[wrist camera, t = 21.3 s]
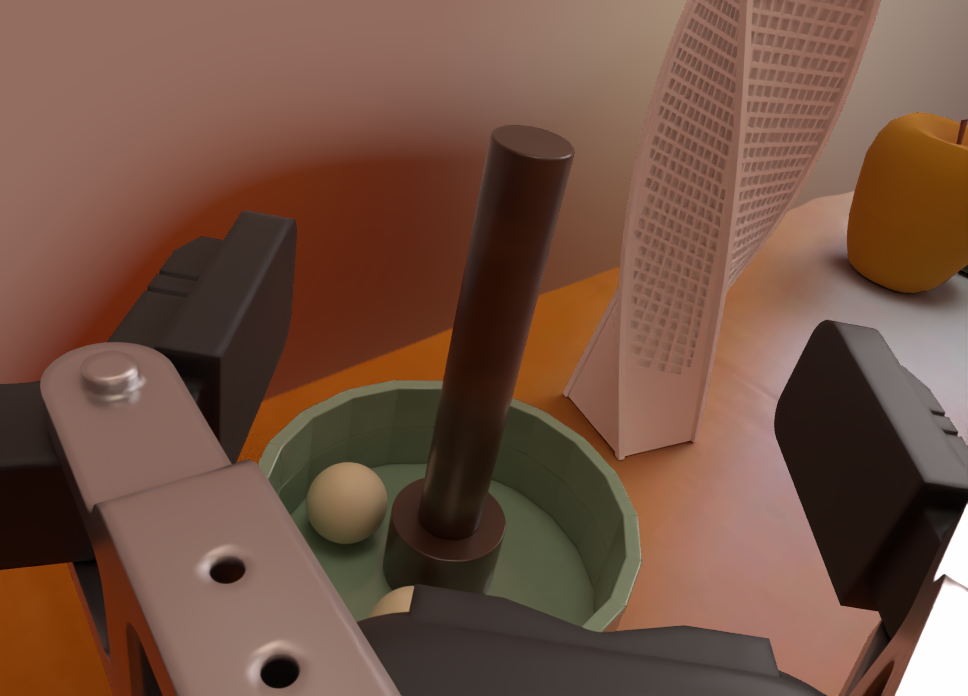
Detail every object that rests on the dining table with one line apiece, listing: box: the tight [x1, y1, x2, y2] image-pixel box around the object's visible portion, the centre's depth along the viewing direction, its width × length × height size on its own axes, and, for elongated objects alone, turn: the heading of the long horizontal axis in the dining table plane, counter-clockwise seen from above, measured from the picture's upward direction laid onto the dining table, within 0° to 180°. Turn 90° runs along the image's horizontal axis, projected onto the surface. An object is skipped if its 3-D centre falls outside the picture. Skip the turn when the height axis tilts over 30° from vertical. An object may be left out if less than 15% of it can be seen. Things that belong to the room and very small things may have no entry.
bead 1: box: [306, 462, 388, 544], centre depth 33 cm, size 3×3×3 cm
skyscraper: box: [563, 0, 881, 460], centre depth 37 cm, size 8×7×28 cm
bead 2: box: [369, 586, 414, 618], centre depth 28 cm, size 3×3×3 cm
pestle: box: [383, 125, 574, 595], centre depth 28 cm, size 4×4×18 cm
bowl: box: [258, 380, 642, 632], centre depth 31 cm, size 14×14×5 cm
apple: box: [847, 112, 968, 293], centre depth 62 cm, size 11×11×13 cm
